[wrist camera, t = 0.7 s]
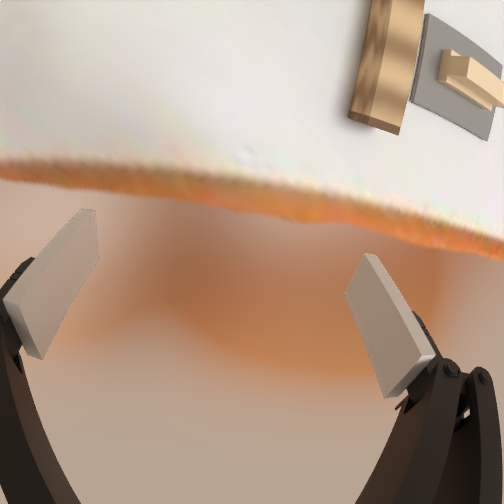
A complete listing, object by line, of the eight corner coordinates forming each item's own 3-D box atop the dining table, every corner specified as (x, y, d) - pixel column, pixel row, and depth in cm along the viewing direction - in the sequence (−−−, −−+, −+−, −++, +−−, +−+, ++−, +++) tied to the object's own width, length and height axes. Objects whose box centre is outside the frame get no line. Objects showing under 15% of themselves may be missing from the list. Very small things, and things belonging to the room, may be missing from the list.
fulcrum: (425, 14, 23) (456, 8, 17) (498, 65, 25) (528, 70, 19) (409, 101, 30) (440, 108, 24) (483, 139, 32) (512, 153, 26)
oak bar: (374, -17, 21) (396, -29, 16) (401, -4, 22) (425, -13, 17) (348, 117, 32) (367, 124, 27) (375, 126, 32) (398, 135, 27)
